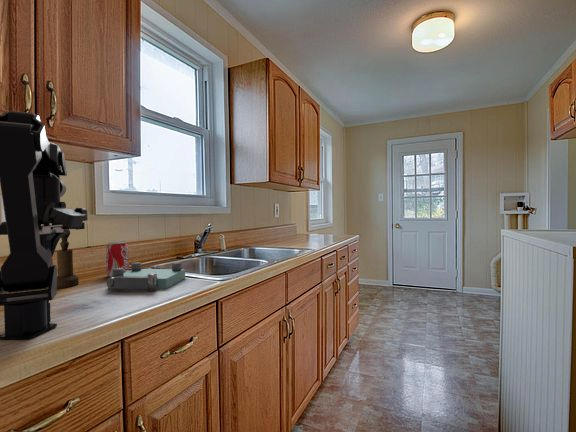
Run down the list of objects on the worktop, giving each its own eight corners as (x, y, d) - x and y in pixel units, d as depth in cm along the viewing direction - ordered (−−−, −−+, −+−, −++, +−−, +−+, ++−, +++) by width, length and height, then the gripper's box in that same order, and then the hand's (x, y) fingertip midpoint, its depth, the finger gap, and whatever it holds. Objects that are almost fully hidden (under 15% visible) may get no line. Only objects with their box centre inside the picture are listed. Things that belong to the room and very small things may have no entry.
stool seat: (166, 288, 90) (166, 270, 90) (107, 288, 91) (107, 270, 91) (185, 277, 104) (184, 261, 104) (134, 277, 105) (133, 262, 105)
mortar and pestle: (47, 287, 93) (45, 228, 93) (65, 282, 100) (63, 227, 99) (66, 288, 92) (64, 228, 92) (83, 283, 99) (82, 227, 98)
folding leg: (158, 288, 89) (158, 273, 89) (154, 290, 87) (153, 275, 86) (113, 288, 90) (112, 273, 90) (107, 290, 87) (106, 275, 87)
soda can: (119, 278, 105) (118, 243, 105) (101, 277, 107) (100, 243, 106) (133, 274, 112) (132, 241, 112) (116, 273, 114) (116, 241, 113)
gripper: (44, 195, 65) (46, 268, 65) (102, 198, 83) (104, 255, 84) (-6, 196, 65) (-3, 268, 66) (63, 199, 84) (65, 255, 84)
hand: (47, 261), depth 75 cm, fingers closed
